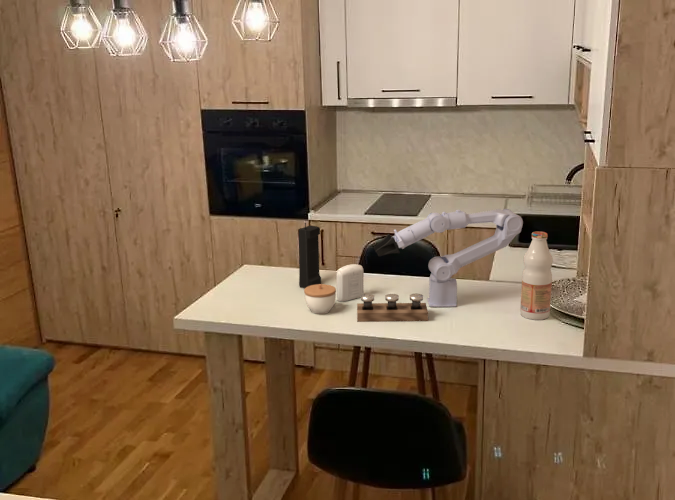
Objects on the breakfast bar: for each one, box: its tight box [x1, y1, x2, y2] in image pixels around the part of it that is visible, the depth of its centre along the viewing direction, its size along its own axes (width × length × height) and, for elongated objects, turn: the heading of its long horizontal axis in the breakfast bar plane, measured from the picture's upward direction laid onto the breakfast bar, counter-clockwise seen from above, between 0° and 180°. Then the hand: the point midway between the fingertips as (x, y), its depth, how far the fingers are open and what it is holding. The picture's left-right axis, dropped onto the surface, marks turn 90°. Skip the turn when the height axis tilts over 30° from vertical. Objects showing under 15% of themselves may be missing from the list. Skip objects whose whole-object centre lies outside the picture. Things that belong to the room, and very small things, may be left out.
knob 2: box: [409, 293, 424, 310], centre depth 239 cm, size 4×4×4 cm
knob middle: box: [384, 293, 400, 310], centre depth 239 cm, size 4×4×4 cm
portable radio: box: [298, 222, 322, 289], centre depth 268 cm, size 8×6×25 cm
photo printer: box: [336, 263, 365, 302], centre depth 256 cm, size 10×4×12 cm, turn 123°
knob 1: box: [360, 293, 375, 310], centre depth 239 cm, size 4×4×4 cm
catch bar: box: [356, 302, 429, 323], centre depth 240 cm, size 23×9×3 cm, turn 88°
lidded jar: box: [303, 283, 337, 315], centre depth 246 cm, size 11×11×9 cm
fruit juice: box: [519, 231, 554, 321], centre depth 235 cm, size 9×9×28 cm
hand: (375, 251), depth 244 cm, fingers open, 7 cm apart
